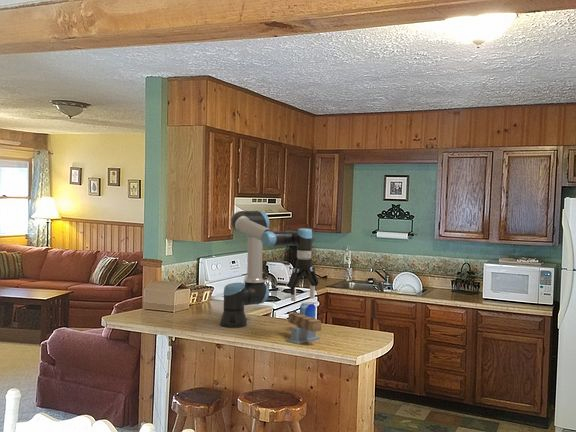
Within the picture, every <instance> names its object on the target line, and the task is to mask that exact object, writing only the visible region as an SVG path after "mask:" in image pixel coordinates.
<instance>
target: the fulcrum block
mask: <svg viewBox="0 0 576 432" xmlns="http://www.w3.org/2000/svg"><path fill="white" fill-rule="evenodd" d="M316 333H317V331H316V332H311V331H309V330H306V329H304V328H301V327H299V326H292V327H291V328H290V338H286V341H287V342H288V343H291V344H296V345H301V344H305V343H310V342H314V341H320V340H321V337H320V336H317V334H316Z"/></svg>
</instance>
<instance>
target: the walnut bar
mask: <svg viewBox="0 0 576 432" xmlns="http://www.w3.org/2000/svg"><path fill="white" fill-rule="evenodd" d="M288 323H289V324H292V325H294V326H295V327H297V326H299V327H301V328H304V329H306V330H309V331H311V332H316V333H317V332H321V331H322V321H321V320H319V319H317V318H315V319H314V318H311V317H309V316H306V315H303V314H300V312H298V311H296V312H295V311H294V312H288Z"/></svg>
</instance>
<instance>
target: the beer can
mask: <svg viewBox="0 0 576 432" xmlns="http://www.w3.org/2000/svg"><path fill="white" fill-rule="evenodd" d="M299 313H300V314H303V315H306V316H309V317H311V318H314V319H316V305H315V303H314V301H313V302H312V301H302V302H301V304H300V306H299Z"/></svg>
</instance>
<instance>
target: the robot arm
mask: <svg viewBox="0 0 576 432" xmlns="http://www.w3.org/2000/svg"><path fill="white" fill-rule="evenodd" d="M230 225H231V228H232V229H233V230H234V231H236V232H238V233H241V234H242V233H244V234H245V236H246V237H247V271H246V273H247V278H246V279H245V280H244V282H232V283H227V284H226V285H224V289H223V310H222V311H223V312H222V315H221V318H220V319H219V321H220V322H219V324H220V326H221V327H224V328H242V327H244V328H245V327H246V326H247V325H248V320H247V317H246V313H245V306H250V305H260V304H264V303H266V302H267V300H268V298H269V295H270V289H269V286H268V285H267V284H266V283H265V282H266V281H265V279H263V246H265V247H281V246H283V247H284V246H295V247H297V249H296V266H297V268H293V269H292V271H291V272H292V273H291V275H290V278H289V281H288V284H287V287H288V288H290V292H289V293H290V301H291V302H297V288H296V287H297V285H298V284H299V282H300V280H301V279H302V278H304V277H306V279H307V281H308V282H309V283H310V285H309V299H313V300H314V299H315V292H316V287H317V286H318V285H319V280H318V278H317V273H316V270H315V269H316V268H315V266H312V248H313V230H312V229H311V228H306V227H305V228H302V227H301V228H298V229H297V231H296V230H281V231H279V230H273V229H271V228H270V218H269V216H268V215H267V213H266V212H265V211H263V210H261V211H260V210H240V211H236V212H235V213H234V214H233V215H232V217H231V218H230Z"/></svg>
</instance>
